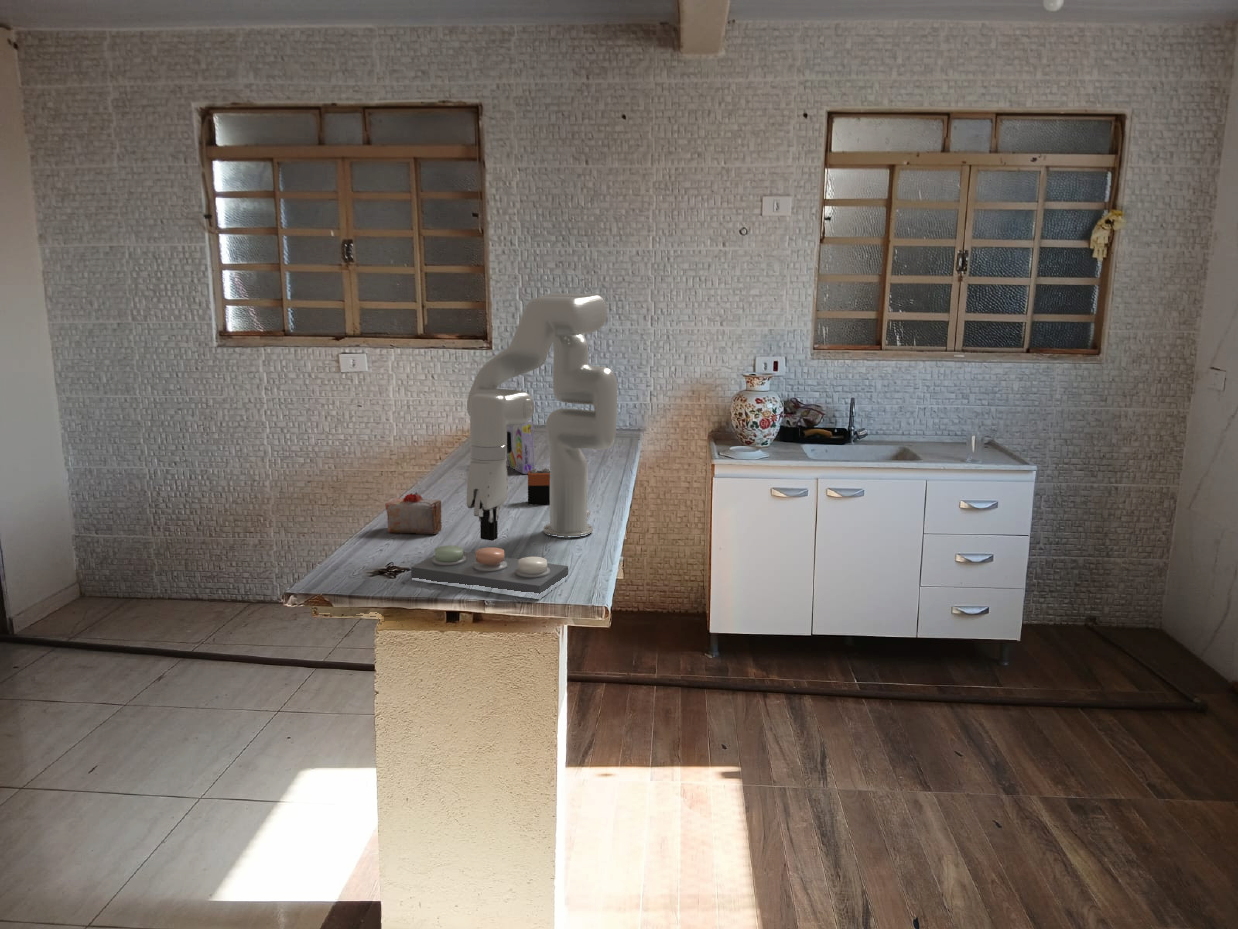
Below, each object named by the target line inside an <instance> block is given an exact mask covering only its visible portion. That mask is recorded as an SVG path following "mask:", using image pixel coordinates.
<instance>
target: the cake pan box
mask: <svg viewBox="0 0 1238 929" xmlns="http://www.w3.org/2000/svg"><path fill="white" fill-rule="evenodd" d="M534 438H535V437H534V422H533V421H532V420H529V421H528V422H527V423H525V424H523V425H518V426H515V425H509V426H507V461H506V465H507V467H509V466H510V467H509V468H511V469H513V470H514V469H515V470H514V471H517V472H518V473H520V474H522V475H524V474H525V475H528V471H531V469H536V468H535V462H536V461H535V443H534V442H535V441H534Z"/></svg>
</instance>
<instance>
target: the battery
mask: <svg viewBox="0 0 1238 929" xmlns="http://www.w3.org/2000/svg"><path fill="white" fill-rule="evenodd" d="M527 503H528V505H530V504H533V505H535V504H541V505H550V468H547V467H545V468H544V467H543V468H541V470H537V468H535V469H531V471H528V474H527Z"/></svg>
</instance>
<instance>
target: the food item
mask: <svg viewBox="0 0 1238 929" xmlns="http://www.w3.org/2000/svg"><path fill="white" fill-rule="evenodd" d="M384 507H385V510H386V514H387V517H386V518H387V532H388V533H389V534H409V533H416V534H415V535H424V534H436V535H437V534H439V533H440V532H442V527H443V526H442V525H443V523H442V501H441V500H440V499H432V498H431V499H429V498H423V497H422V496H421V495H419V494H418V492H415V493H408V494H406V495H405V496H404V498H402V497H398V498H395V497H394V498H390V499H388V501H386V502H385V505H384ZM439 531H440V532H439ZM438 532H439V533H438Z"/></svg>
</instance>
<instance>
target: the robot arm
mask: <svg viewBox="0 0 1238 929" xmlns="http://www.w3.org/2000/svg"><path fill="white" fill-rule="evenodd" d="M607 317H608V308H607V304H606V302H605V300H604V299H603V297H602V296H600V295H599V294H591V293H590V294H589V293H567V292H565V293H561V292H559V293H558V292H555V293H554V292H553V293H547V294H543V295H541V296H538V297H534V298H532V299H531V300H529V301H528V302H527V304H526V305H525V308H524V310H523V312H522V315H521V317H520V320H519V322H518V325H517V327H516V329H515V332H514V334H513V336H512V339H511V342H510V344H509V346H508V347H506V348H505V349H503V350H502V351H500V352H499V353H497V354H496V355H495V356H493V357H492V358H491V359H490V360H489V361H487V362H486V363H485V364H484V365H483V366H482V367H481V368H480V370H479V371H478V372H477V374H476V376H475V378H474V381H473V383H472V385H471V387H470V390H469V393H468V396H467V401H466V409H467V414H468V416H469V428H470V429H469V432H470V434H469V437H470V438H469V439H470V440H469V443H470V444H469V445H470V446H469V447H470V448H469V449H470V451H469V452H470V453H469V454H470V456H469V457H470V461H469V466H468V472H467V481H466V482H467V483H466V507H467V508H468V509H473V516H474V517H478V520H479V523H480V524H479V525H480V539H481V540H485V541H493V542H494V541H495V540H497V539H498V534H499V533H498V532H499V531H498V530H499V528H498V525H499V524H498V521H499V518H500V509H502V508H503V507H504V503H506V501H508V497H509V495H508V494H509V481H508V480H509V479H508V478H509V477H508V466H507V465H506V461H507V426H509V425H515V426H518V425H523V424H525V423H527V422H528V421H531V418H532V417H533V415H534V413H535V403H534V400H533V397H532V396H531V395H530V394H529V393H527V392H526V391H522V390H518V389H506V388H499V387H500V386H501V385H502V384H503V383H505V382H507V381H508V380H510V379H513V378H515V377H518V376H521V375H524V374H526V373H529V372H532V371H534V370H537V369H539V368H540V367H542V366H543V365H544V364H545V362H546V360H547V358H548V354H549V351H550V349H551V347H553V348H552V349H553V363H552V364H553V365H552V367H553V369H552V371H553V372H552V374H553V376H552V377H553V378H552V390H553V395H554V397H555V399H556V400H557V401H558V402H561V403H565V404H574V405H576V404H577V405H589V406H593V408H594V410H588V409H579V408H559V409H555V410H553V411H552V412H550V414H549V415H548V416H547V417H546V422H545V432H546V437H547V443H548V450H549V453H548V454H549V471H550V504H549V523H548V524H546V525H544V527H543V533H544V532H545V533H546V534H550V535H557V536H564V537H568V536H581V535H585V534H590V533H592V531H593V532H594V527H593V526H592V525H591V524H589V523H588V518H589V517H590V516H591V512H590V510H588V482H589V481H588V476H589V475H588V472H589V471H588V468H589V467H588V466H589V465H588V461H587V459H586V457H585V455H584V453H583V452H582V450H581V449H585V450H586V449H587V450H601V451H602V450H607V449H610V448H611V447H612V446H613V444H614V442H615V439H616V433H617V414H618V413H617V412H618V411H617V407H618V382H617V377H616V375H615V373H614V372H613V370H612V369H610V368H609V367H607V366H601V365H600V366H599V365H597V366H596V365H590V364H589V344H588V341H587V340H586V337H585V335H587V334H591V333H594V332H597V331H600V330H601V328H603V326H604V325H605V324H606V321H607ZM545 533H544V534H545ZM546 534H545V535H546ZM592 534H593V533H592ZM590 535H591V534H590Z"/></svg>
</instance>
